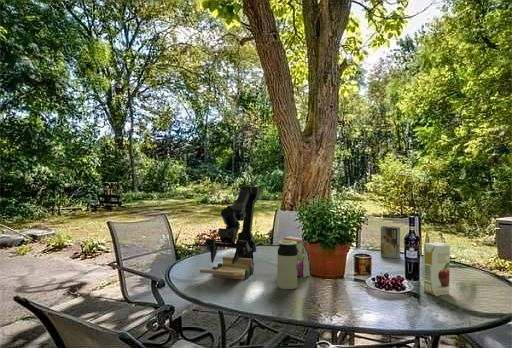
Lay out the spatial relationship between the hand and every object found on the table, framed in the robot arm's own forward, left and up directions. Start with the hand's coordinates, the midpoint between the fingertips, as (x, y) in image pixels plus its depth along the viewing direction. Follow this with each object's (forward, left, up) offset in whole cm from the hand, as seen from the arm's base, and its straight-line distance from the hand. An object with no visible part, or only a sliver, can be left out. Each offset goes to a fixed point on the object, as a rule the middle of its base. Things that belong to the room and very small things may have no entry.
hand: (222, 263), depth 156 cm
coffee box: (-96, -31, -8) cm, 101 cm away
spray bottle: (-34, -6, -8) cm, 36 cm away
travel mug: (-25, +10, -8) cm, 28 cm away
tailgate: (-3, -6, -6) cm, 9 cm away
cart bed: (-6, -12, -8) cm, 16 cm away
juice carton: (-79, +28, -8) cm, 84 cm away
